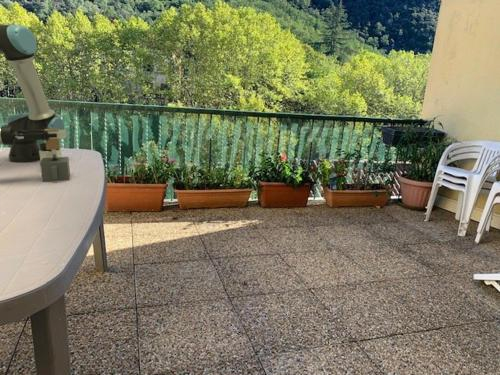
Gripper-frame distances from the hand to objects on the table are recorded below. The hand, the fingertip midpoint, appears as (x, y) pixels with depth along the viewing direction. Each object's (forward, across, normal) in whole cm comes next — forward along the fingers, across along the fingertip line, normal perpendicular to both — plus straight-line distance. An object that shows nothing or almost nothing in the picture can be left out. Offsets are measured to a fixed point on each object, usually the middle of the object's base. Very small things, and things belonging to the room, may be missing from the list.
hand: (65, 134), depth 163 cm
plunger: (-5, 0, -13) cm, 14 cm away
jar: (-8, -16, -19) cm, 26 cm away
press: (-5, +1, -19) cm, 20 cm away
